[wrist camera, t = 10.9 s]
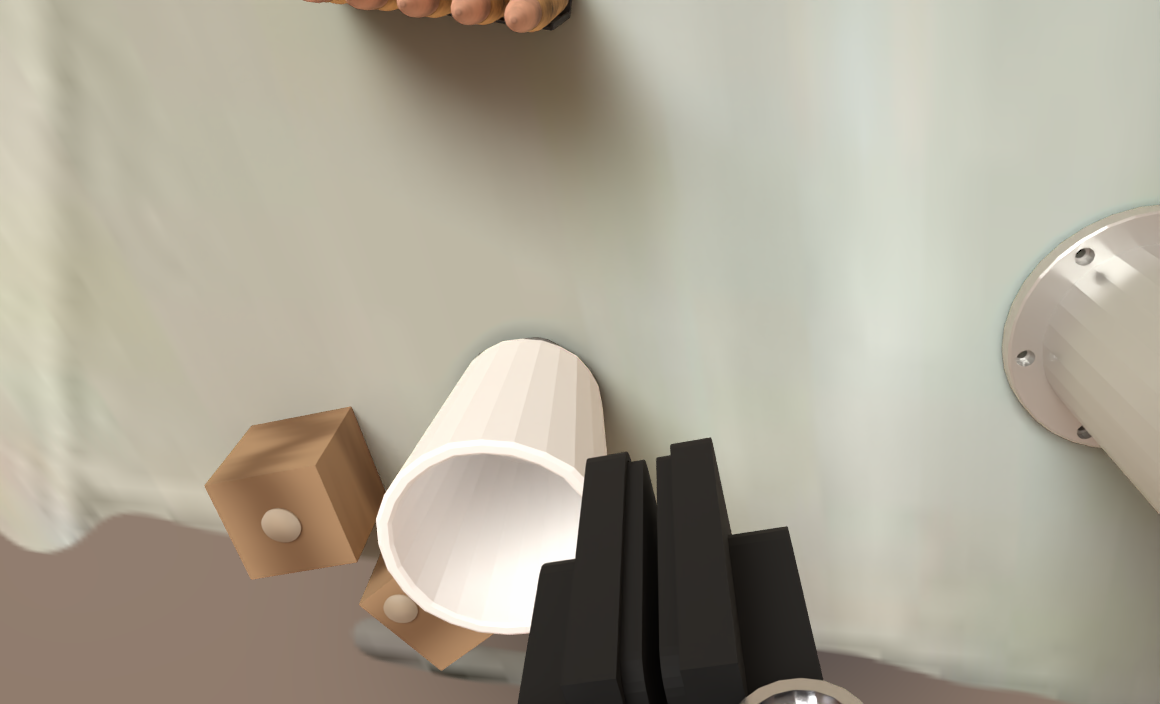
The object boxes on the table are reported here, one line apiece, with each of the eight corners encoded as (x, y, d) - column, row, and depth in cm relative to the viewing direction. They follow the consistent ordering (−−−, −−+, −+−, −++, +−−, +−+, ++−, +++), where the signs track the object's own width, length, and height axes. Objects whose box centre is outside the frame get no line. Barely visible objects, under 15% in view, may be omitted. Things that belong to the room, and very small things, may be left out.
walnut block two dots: (531, 544, 52) (518, 618, 47) (461, 596, 54) (440, 672, 49) (457, 479, 51) (434, 547, 45) (388, 535, 53) (358, 606, 47)
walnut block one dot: (351, 405, 49) (314, 467, 44) (387, 495, 51) (356, 564, 46) (252, 425, 50) (202, 487, 44) (292, 512, 52) (250, 581, 47)
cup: (642, 332, 46) (640, 469, 34) (604, 488, 50) (591, 656, 39) (451, 294, 46) (385, 418, 34) (429, 454, 50) (365, 612, 38)
